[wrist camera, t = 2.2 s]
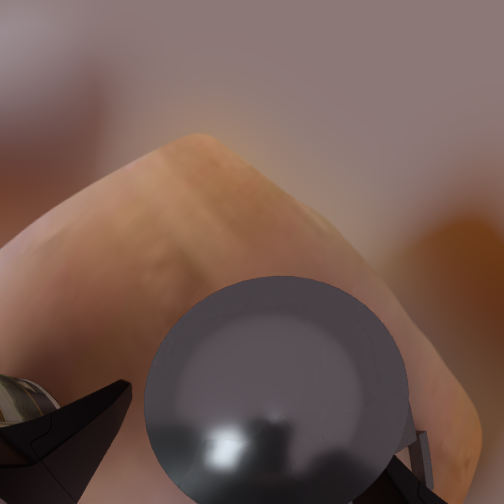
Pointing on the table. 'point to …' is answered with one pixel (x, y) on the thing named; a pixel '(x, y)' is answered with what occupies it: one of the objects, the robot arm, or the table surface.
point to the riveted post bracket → (417, 451)
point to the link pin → (276, 395)
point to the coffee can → (23, 401)
